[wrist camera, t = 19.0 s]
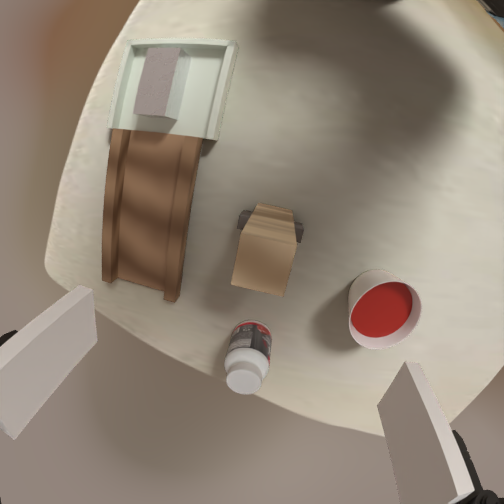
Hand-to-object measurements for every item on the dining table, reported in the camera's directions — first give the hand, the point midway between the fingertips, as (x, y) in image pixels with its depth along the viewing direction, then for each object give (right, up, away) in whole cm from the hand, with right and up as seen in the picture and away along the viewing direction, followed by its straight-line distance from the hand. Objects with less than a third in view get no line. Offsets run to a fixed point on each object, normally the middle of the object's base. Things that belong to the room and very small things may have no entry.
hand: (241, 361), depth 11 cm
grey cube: (-9, +25, +18) cm, 33 cm away
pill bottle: (+1, -7, +29) cm, 30 cm away
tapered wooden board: (+3, +8, +23) cm, 25 cm away
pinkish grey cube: (-10, +22, +19) cm, 31 cm away
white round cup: (+16, -1, +25) cm, 30 cm away
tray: (-9, +24, +19) cm, 32 cm away
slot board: (-12, +9, +24) cm, 29 cm away
